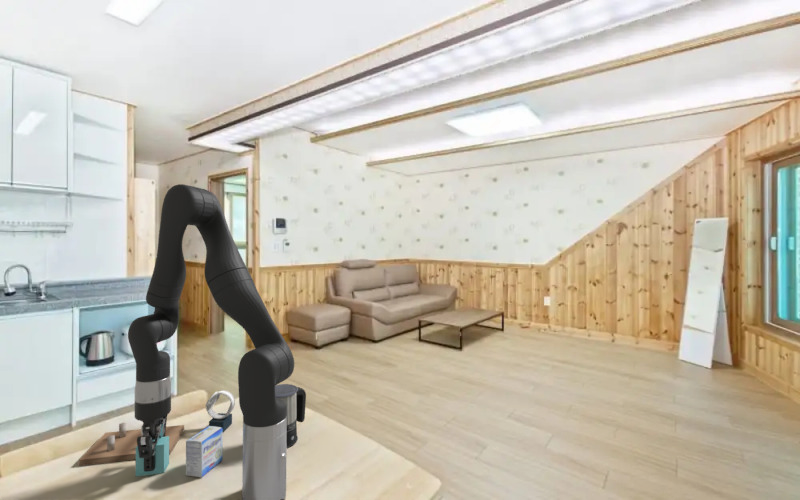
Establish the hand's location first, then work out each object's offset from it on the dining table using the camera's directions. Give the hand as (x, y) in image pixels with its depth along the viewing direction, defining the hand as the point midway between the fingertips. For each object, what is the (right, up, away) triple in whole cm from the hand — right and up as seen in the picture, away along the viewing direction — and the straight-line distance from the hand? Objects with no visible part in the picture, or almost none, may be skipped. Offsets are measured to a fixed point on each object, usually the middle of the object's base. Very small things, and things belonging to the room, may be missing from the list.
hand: (152, 464), depth 94 cm
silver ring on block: (+6, -1, +22) cm, 23 cm away
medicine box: (+12, -2, +1) cm, 12 cm away
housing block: (0, -1, 0) cm, 1 cm away
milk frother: (+24, -2, +17) cm, 30 cm away
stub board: (-11, -1, +10) cm, 15 cm away
